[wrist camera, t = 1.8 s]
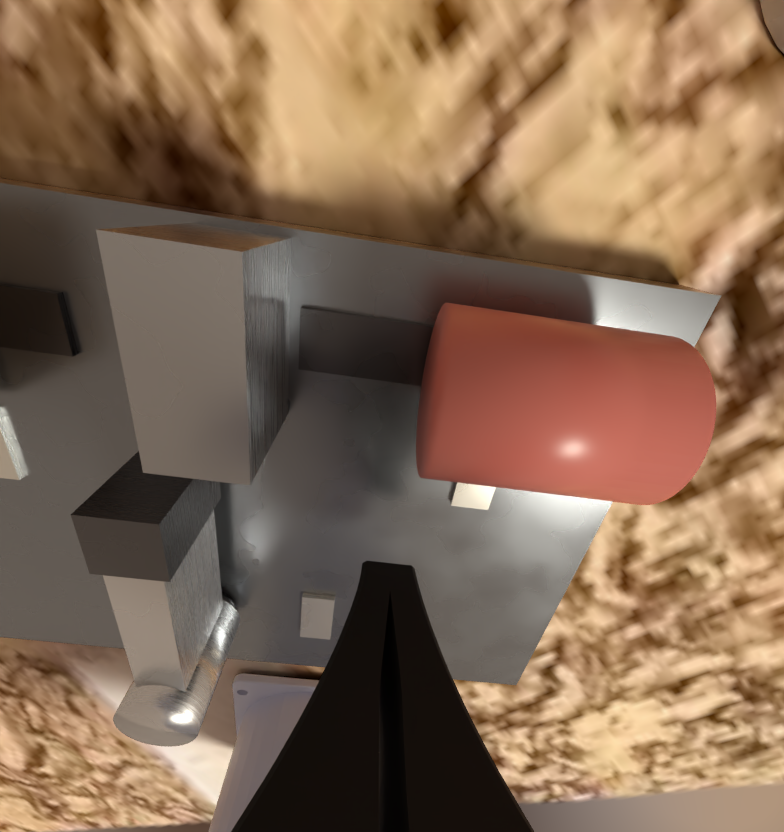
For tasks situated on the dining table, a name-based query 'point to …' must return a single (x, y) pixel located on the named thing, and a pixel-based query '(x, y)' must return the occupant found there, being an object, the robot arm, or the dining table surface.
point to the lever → (161, 595)
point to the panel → (311, 454)
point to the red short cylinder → (561, 407)
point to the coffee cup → (774, 20)
